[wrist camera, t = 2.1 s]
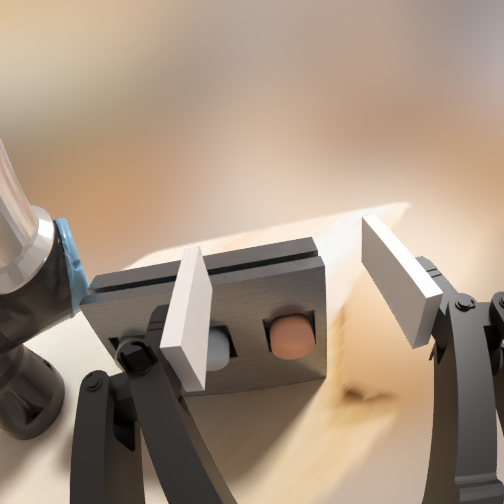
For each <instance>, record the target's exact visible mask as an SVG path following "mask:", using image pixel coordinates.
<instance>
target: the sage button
mask: <svg viewBox="0 0 504 504" xmlns="http://www.w3.org/2000/svg"><path fill="white" fill-rule="evenodd" d="M133 339H144V336H141V335H136V336H125V337H122V338H121V340H120V343H119V346H118V349H117V352H118V350H119V349H120V348H121V346H122V345H123V344H125V343H126V342H128V341H130V340H133ZM117 352H116V355H115V358H114V361H115V363H116V365H117V366H118V367H119V368H120V369H121V370H122V371H124V372H125V370H124V369H123V368H122V366H121V365H120V364H119V362H118V361H117V359H116V357H117Z"/></svg>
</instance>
